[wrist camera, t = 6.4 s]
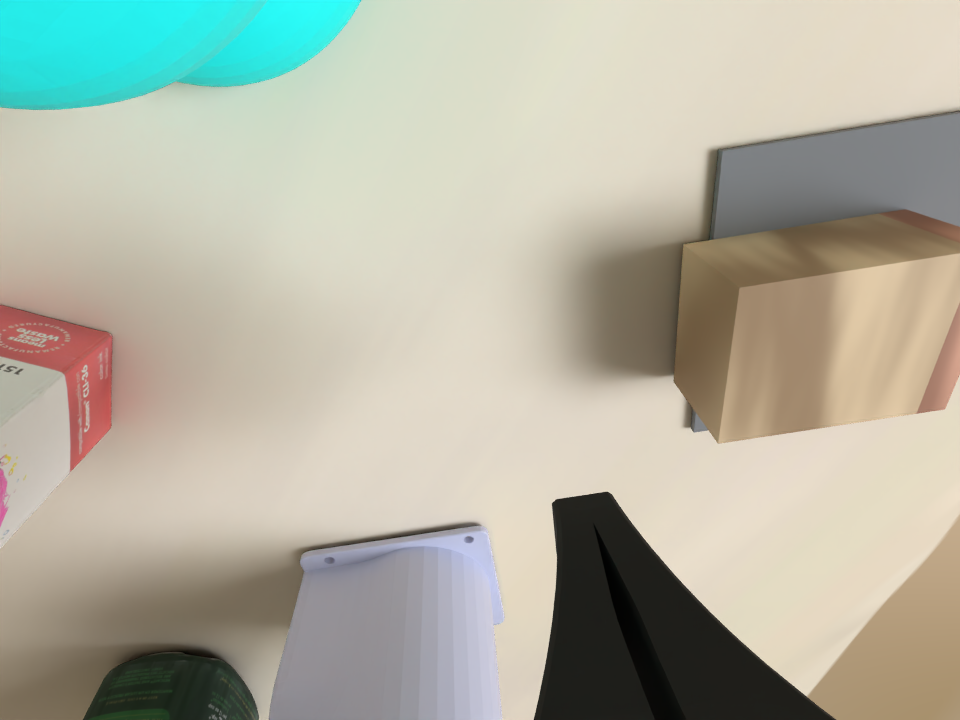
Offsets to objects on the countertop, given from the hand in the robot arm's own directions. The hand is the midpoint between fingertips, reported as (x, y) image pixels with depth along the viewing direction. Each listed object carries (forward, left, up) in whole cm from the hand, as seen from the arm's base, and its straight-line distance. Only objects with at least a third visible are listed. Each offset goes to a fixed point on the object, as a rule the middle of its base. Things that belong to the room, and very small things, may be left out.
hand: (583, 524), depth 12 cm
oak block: (+6, 0, -7) cm, 9 cm away
